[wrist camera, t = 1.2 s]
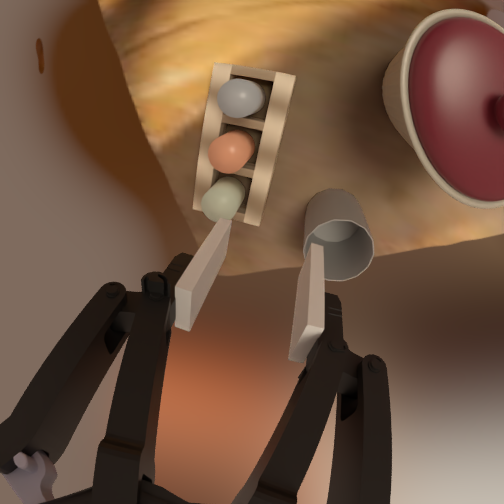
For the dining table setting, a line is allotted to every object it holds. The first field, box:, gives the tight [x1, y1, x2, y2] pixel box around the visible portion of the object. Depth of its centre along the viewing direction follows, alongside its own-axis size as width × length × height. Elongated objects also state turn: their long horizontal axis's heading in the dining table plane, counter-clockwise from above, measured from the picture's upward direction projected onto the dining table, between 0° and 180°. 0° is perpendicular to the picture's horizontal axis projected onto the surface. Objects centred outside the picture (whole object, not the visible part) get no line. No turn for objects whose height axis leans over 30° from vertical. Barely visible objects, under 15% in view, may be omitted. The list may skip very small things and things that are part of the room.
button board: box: [193, 62, 297, 226], centre depth 34 cm, size 21×10×3 cm, turn 169°
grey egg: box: [217, 79, 266, 118], centre depth 27 cm, size 4×4×5 cm
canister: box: [382, 9, 504, 209], centre depth 18 cm, size 18×18×21 cm
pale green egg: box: [201, 177, 245, 222], centre depth 35 cm, size 4×4×5 cm
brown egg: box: [208, 130, 255, 173], centre depth 31 cm, size 4×4×5 cm
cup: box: [303, 189, 374, 281], centre depth 35 cm, size 8×8×10 cm
